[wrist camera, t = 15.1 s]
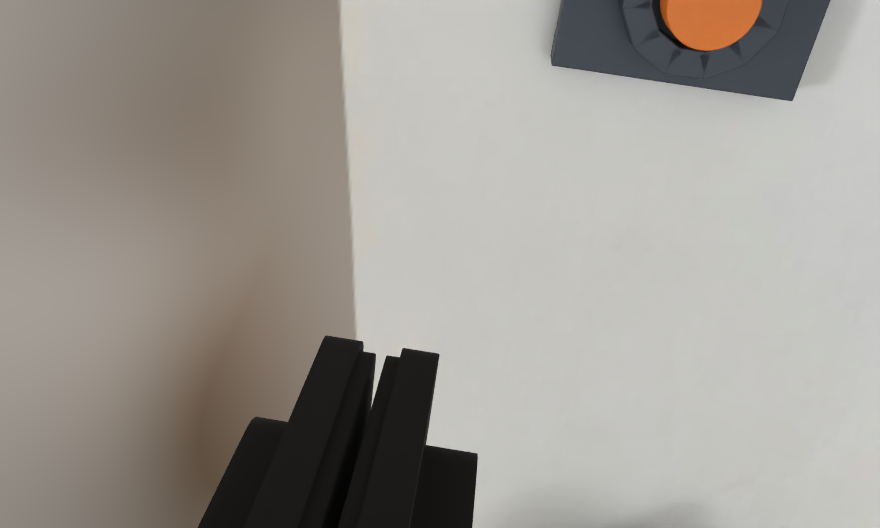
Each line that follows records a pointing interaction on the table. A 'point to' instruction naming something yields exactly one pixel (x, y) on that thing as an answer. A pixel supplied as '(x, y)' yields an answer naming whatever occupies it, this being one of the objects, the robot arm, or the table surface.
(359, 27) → the table surface
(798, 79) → the control block
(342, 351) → the robot arm
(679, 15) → the button
